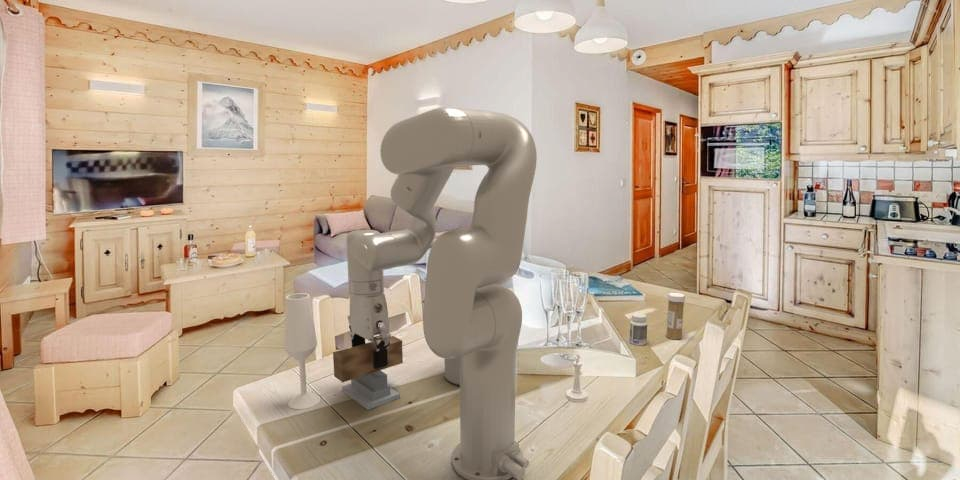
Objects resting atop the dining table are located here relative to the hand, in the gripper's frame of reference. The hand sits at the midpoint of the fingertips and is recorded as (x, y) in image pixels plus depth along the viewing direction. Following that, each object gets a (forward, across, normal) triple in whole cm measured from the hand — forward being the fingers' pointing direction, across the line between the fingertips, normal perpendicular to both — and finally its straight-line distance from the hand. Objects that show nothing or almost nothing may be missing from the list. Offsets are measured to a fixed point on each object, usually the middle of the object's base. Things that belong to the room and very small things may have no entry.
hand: (369, 360), depth 107 cm
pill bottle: (+9, -24, -74) cm, 78 cm away
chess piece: (+9, -32, -34) cm, 47 cm away
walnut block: (+2, 0, 0) cm, 2 cm away
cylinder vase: (+8, -8, -23) cm, 26 cm away
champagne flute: (+8, +7, +13) cm, 17 cm away
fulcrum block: (+8, 0, 0) cm, 8 cm away
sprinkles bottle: (+9, -29, -86) cm, 91 cm away
